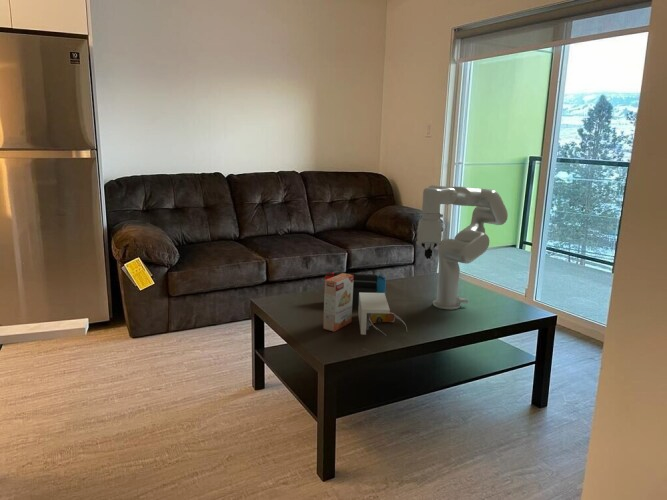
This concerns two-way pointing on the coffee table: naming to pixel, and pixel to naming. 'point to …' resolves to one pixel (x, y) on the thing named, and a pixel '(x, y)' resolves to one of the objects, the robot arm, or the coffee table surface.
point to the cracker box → (338, 301)
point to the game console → (363, 284)
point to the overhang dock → (371, 308)
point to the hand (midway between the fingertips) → (428, 258)
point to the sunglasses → (383, 319)
